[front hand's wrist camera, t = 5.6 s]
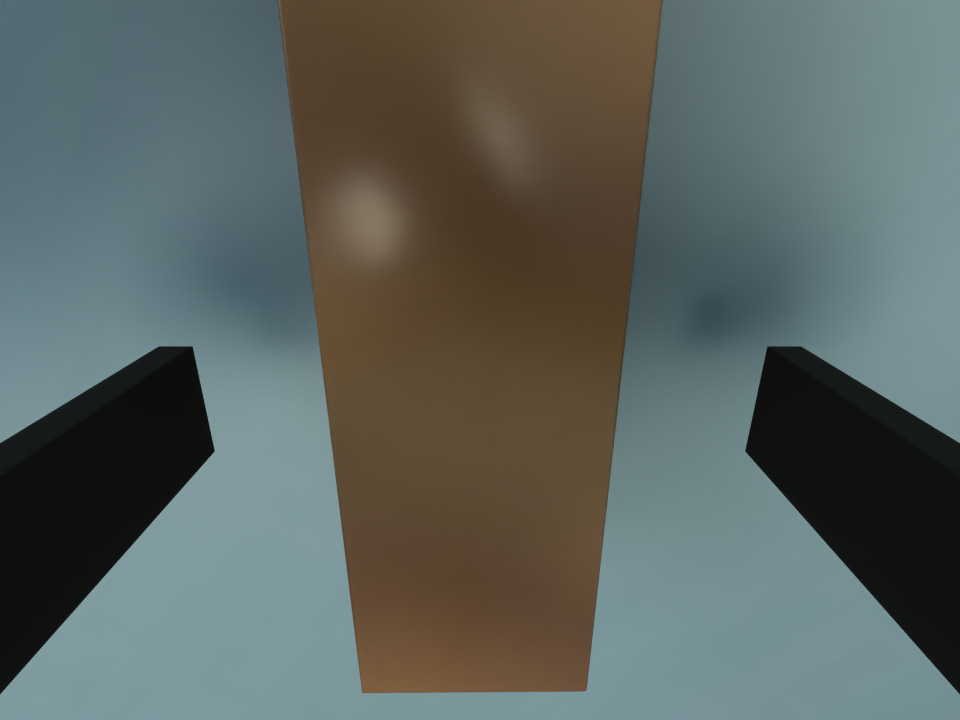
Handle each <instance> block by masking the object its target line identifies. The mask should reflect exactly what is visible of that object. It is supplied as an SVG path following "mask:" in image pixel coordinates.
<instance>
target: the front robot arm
mask: <svg viewBox="0 0 960 720" xmlns="http://www.w3.org/2000/svg"><path fill="white" fill-rule="evenodd" d="M213 453H214V446H213V441H212V436H211V432H210V427H209V422H208V417H207V413H206V408H205V403H204V399H203V394H202V389H201V384H200V380H199V375H198V370H197V366H196V361H195V356H194V351H193V347H157V348H156V349H154V350H152V351H151V352H149V353H148V354H146V355H144V356H143V357H141V358H139V359H138V360H136V361H134V362H133V363H131V364H129V365H128V366H126V367H125V368H123V369H121V370H120V371H118V372H116V373H115V374H113V375H111V376H110V377H108V378H107V379H105V380H103V381H102V382H100V383H98V384H97V385H95V386H93V387H92V388H90V389H88V390H87V391H85V392H84V393H82V394H80V395H79V396H77V397H75V398H74V399H72V400H70V401H69V402H67V403H66V404H64V405H62V406H61V407H59V408H57V409H56V410H54V411H52V412H51V413H49V414H47V415H46V416H44V417H43V418H41V419H39V420H38V421H36V422H34V423H33V424H31V425H29V426H28V427H26V428H25V429H23V430H21V431H20V432H18V433H16V434H15V435H13V436H11V437H10V438H8V439H6V440H5V441H3V442H2V443H0V694H1V693H2V692H3V690H4V689H5V688H6V687H7V686H8V685H9V684H10V682H11V681H12V680H13V679H14V678H15V677H16V676H17V675H18V673H19V672H20V671H21V670H22V669H23V668H24V667H25V666H26V664H27V663H28V662H29V661H30V660H31V659H32V658H33V656H34V655H35V654H36V653H37V652H38V651H39V650H40V649H41V647H42V646H43V645H44V644H45V643H46V642H47V641H48V639H49V638H50V637H51V636H52V635H53V634H54V633H55V632H56V630H57V629H58V628H59V627H60V626H61V625H62V624H63V622H64V621H65V620H66V619H67V618H68V617H69V616H70V615H71V613H72V612H73V611H74V610H75V609H76V608H77V607H78V605H79V604H80V603H81V602H82V601H83V600H84V599H85V598H86V596H87V595H88V594H89V593H90V592H91V591H92V590H93V589H94V587H95V586H96V585H97V584H98V583H99V582H100V581H101V579H102V578H103V577H104V576H105V575H106V574H107V573H108V572H109V570H110V569H111V568H112V567H113V566H114V565H115V564H116V562H117V561H118V560H119V559H120V558H121V557H122V556H123V555H124V553H125V552H126V551H127V550H128V549H129V548H130V547H131V545H132V544H133V543H134V542H135V541H136V540H137V539H138V538H139V536H140V535H141V534H142V533H143V532H144V531H145V530H146V528H147V527H148V526H149V525H150V524H151V523H152V522H153V521H154V519H155V518H156V517H157V516H158V515H159V514H160V513H161V511H162V510H163V509H164V508H165V507H166V506H167V505H168V504H169V502H170V501H171V500H172V499H173V498H174V497H175V496H176V495H177V493H178V492H179V491H180V490H181V489H182V488H183V487H184V485H185V484H186V483H187V482H188V481H189V480H190V479H191V478H192V476H193V475H194V474H195V473H196V472H197V471H198V470H199V468H200V467H201V466H202V465H203V464H204V463H205V462H206V461H207V459H208V458H209V457H210V456H211V455H212V454H213ZM746 453H747V454H748V455H749V456H750V457H751V458H752V459H753V461H754V462H755V463H756V464H757V465H758V466H759V467H760V468H761V470H762V471H763V472H764V473H765V474H766V475H767V476H768V478H769V479H770V480H771V481H772V482H773V483H774V484H775V485H776V487H777V488H778V489H779V490H780V491H781V492H782V493H783V495H784V496H785V497H786V498H787V499H788V500H789V501H790V502H791V504H792V505H793V506H794V507H795V508H796V509H797V510H798V511H799V513H800V514H801V515H802V516H803V517H804V518H805V519H806V521H807V522H808V523H809V524H810V525H811V526H812V527H813V528H814V530H815V531H816V532H817V533H818V534H819V535H820V536H821V538H822V539H823V540H824V541H825V542H826V543H827V544H828V545H829V547H830V548H831V549H832V550H833V551H834V552H835V553H836V555H837V556H838V557H839V558H840V559H841V560H842V561H843V562H844V564H845V565H846V566H847V567H848V568H849V569H850V570H851V572H852V573H853V574H854V575H855V576H856V577H857V578H858V579H859V581H860V582H861V583H862V584H863V585H864V586H865V587H866V589H867V590H868V591H869V592H870V593H871V594H872V595H873V596H874V598H875V599H876V600H877V601H878V602H879V603H880V604H881V605H882V607H883V608H884V609H885V610H886V611H887V612H888V613H889V615H890V616H891V617H892V618H893V619H894V620H895V621H896V622H897V624H898V625H899V626H900V627H901V628H902V629H903V630H904V632H905V633H906V634H907V635H908V636H909V637H910V638H911V639H912V641H913V642H914V643H915V644H916V645H917V646H918V647H919V649H920V650H921V651H922V652H923V653H924V654H925V655H926V656H927V658H928V659H929V660H930V661H931V662H932V663H933V664H934V666H935V667H936V668H937V669H938V670H939V671H940V672H941V673H942V675H943V676H944V677H945V678H946V679H947V680H948V681H949V682H950V684H951V685H952V686H953V687H954V688H955V689H956V690H957V692H958V693H959V694H960V443H958V442H957V441H955V440H954V439H952V438H950V437H949V436H947V435H945V434H944V433H942V432H940V431H939V430H937V429H935V428H934V427H932V426H931V425H929V424H927V423H926V422H924V421H922V420H921V419H919V418H917V417H916V416H914V415H913V414H911V413H909V412H908V411H906V410H904V409H903V408H901V407H899V406H898V405H896V404H894V403H893V402H891V401H890V400H888V399H886V398H885V397H883V396H881V395H880V394H878V393H876V392H875V391H873V390H872V389H870V388H868V387H867V386H865V385H863V384H862V383H860V382H858V381H857V380H855V379H853V378H852V377H850V376H849V375H847V374H845V373H844V372H842V371H840V370H839V369H837V368H835V367H834V366H832V365H831V364H829V363H827V362H826V361H824V360H822V359H821V358H819V357H817V356H816V355H814V354H812V353H811V352H809V351H808V350H806V349H804V348H803V347H767V351H766V356H765V361H764V366H763V370H762V375H761V380H760V384H759V389H758V394H757V399H756V403H755V408H754V413H753V417H752V422H751V427H750V432H749V436H748V441H747V446H746Z"/></svg>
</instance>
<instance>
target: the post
mask: <svg viewBox="0 0 960 720" xmlns="http://www.w3.org/2000/svg"><path fill="white" fill-rule="evenodd" d="M277 1H278V9H279V18H280V26H281V34H282V42H283V50H284V58H285V67H286V75H287V83H288V91H289V99H290V108H291V116H292V124H293V132H294V140H295V148H296V157H297V165H298V173H299V181H300V189H301V197H302V206H303V214H304V222H305V230H306V238H307V246H308V255H309V263H310V271H311V279H312V287H313V296H314V304H315V312H316V320H317V328H318V336H319V345H320V353H321V361H322V369H323V377H324V385H325V394H326V402H327V410H328V418H329V426H330V434H331V443H332V451H333V459H334V467H335V475H336V484H337V492H338V500H339V508H340V516H341V524H342V533H343V541H344V549H345V557H346V565H347V573H348V582H349V590H350V598H351V606H352V614H353V622H354V631H355V639H356V647H357V655H358V663H359V672H360V680H361V688H362V692H363V693H430V692H561V691H586V689H587V681H588V672H589V663H590V654H591V645H592V636H593V627H594V618H595V609H596V600H597V591H598V582H599V573H600V564H601V554H602V545H603V536H604V527H605V518H606V509H607V500H608V491H609V482H610V473H611V464H612V455H613V446H614V437H615V428H616V419H617V410H618V400H619V391H620V382H621V373H622V364H623V355H624V346H625V337H626V328H627V319H628V310H629V301H630V292H631V283H632V274H633V265H634V256H635V246H636V237H637V228H638V219H639V210H640V201H641V192H642V183H643V174H644V165H645V156H646V147H647V138H648V129H649V120H650V111H651V102H652V92H653V83H654V74H655V65H656V56H657V47H658V38H659V29H660V20H661V11H662V2H663V0H277Z"/></svg>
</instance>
